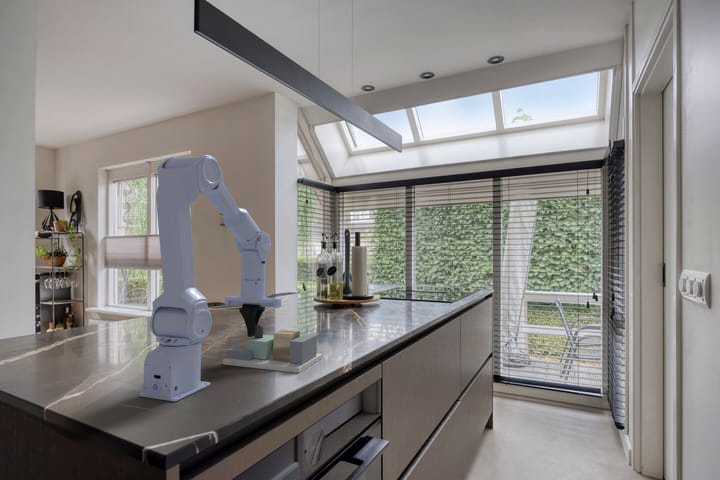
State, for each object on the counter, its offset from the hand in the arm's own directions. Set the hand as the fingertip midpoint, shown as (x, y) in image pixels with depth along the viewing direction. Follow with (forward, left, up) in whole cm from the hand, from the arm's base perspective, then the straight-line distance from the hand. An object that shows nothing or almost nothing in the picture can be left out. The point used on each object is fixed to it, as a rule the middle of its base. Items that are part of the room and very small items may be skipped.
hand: (251, 336), depth 96 cm
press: (0, -6, -5) cm, 8 cm away
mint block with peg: (0, -4, -4) cm, 5 cm away
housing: (0, -9, -4) cm, 10 cm away
